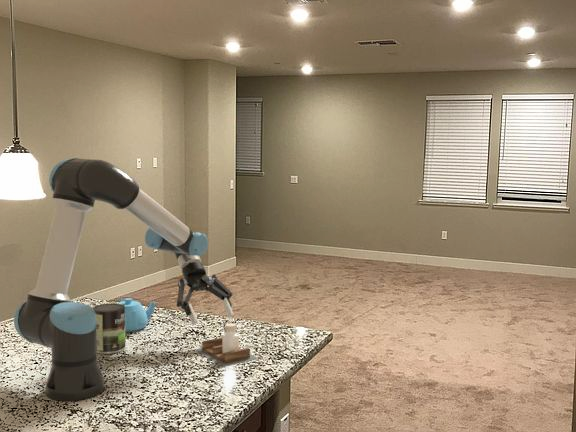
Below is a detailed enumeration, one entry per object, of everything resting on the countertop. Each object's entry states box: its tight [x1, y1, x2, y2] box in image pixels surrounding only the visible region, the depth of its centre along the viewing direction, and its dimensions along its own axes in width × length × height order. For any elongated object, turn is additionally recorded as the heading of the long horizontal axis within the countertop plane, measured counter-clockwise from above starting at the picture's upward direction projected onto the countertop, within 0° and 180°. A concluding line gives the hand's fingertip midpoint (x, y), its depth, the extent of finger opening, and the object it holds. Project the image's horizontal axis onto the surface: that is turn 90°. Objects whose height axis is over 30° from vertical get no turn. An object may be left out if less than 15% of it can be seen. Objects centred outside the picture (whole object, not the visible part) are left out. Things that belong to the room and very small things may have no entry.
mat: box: [194, 347, 259, 368], centre depth 201 cm, size 19×13×1 cm
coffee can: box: [92, 302, 127, 355], centre depth 204 cm, size 10×10×14 cm
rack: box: [201, 337, 251, 364], centre depth 200 cm, size 15×9×3 cm, turn 37°
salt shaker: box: [221, 322, 240, 353], centre depth 197 cm, size 4×4×10 cm
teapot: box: [116, 297, 157, 333], centre depth 229 cm, size 15×15×11 cm
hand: (213, 319), depth 205 cm, fingers open, 13 cm apart
